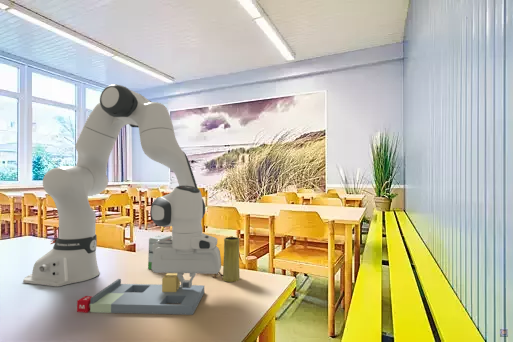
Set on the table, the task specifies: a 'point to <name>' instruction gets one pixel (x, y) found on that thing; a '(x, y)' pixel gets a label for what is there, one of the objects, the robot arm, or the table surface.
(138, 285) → the board
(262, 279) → the table surface
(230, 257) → the vase
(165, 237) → the ink box
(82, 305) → the red letter cube
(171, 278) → the block
